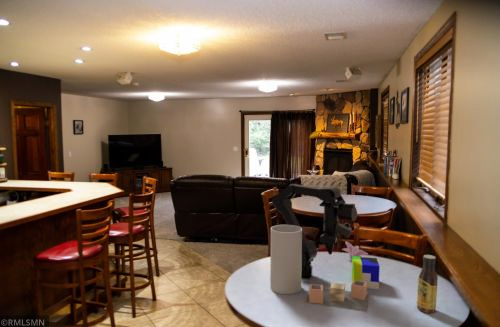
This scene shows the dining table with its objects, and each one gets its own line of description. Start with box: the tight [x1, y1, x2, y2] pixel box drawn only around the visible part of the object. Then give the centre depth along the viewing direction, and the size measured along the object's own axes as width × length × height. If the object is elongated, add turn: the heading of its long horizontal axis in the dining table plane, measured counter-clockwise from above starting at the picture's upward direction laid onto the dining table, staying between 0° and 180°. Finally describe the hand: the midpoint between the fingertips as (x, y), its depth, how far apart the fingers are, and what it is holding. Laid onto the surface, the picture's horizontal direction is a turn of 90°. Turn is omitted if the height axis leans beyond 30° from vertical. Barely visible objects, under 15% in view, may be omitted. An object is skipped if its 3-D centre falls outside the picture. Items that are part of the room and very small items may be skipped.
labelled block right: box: [350, 280, 368, 300], centre depth 146 cm, size 5×5×5 cm
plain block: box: [329, 282, 346, 302], centre depth 144 cm, size 5×5×5 cm
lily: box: [341, 241, 369, 264], centre depth 187 cm, size 12×12×10 cm
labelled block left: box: [308, 283, 324, 304], centre depth 143 cm, size 5×5×5 cm
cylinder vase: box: [269, 224, 303, 295], centre depth 153 cm, size 12×12×25 cm
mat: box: [304, 287, 370, 313], centre depth 145 cm, size 22×16×1 cm
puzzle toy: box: [351, 256, 381, 290], centre depth 159 cm, size 10×10×10 cm
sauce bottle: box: [416, 254, 439, 314], centre depth 135 cm, size 6×6×20 cm
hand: (330, 254), depth 159 cm, fingers closed
